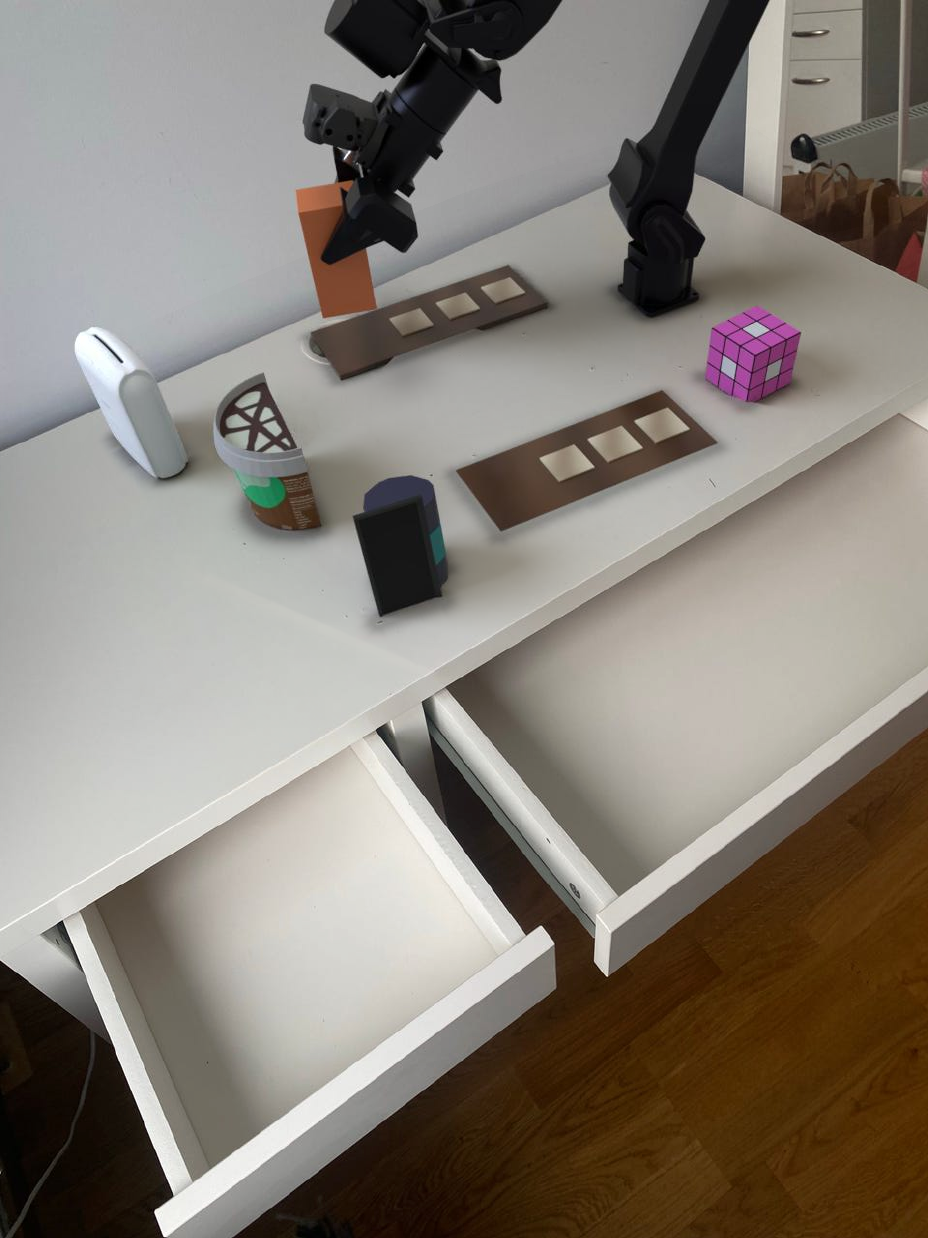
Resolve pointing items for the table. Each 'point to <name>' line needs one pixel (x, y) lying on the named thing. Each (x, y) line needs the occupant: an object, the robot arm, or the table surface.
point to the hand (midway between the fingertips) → (322, 248)
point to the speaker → (402, 542)
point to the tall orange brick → (344, 280)
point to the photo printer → (131, 401)
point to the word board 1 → (426, 320)
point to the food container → (265, 457)
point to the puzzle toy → (752, 354)
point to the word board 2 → (583, 459)
